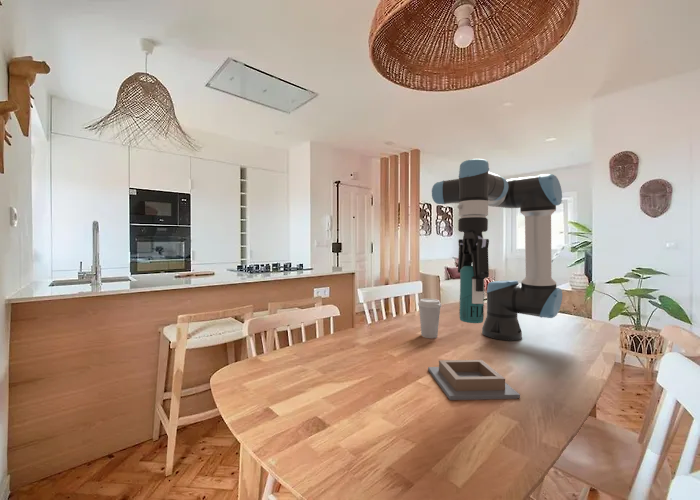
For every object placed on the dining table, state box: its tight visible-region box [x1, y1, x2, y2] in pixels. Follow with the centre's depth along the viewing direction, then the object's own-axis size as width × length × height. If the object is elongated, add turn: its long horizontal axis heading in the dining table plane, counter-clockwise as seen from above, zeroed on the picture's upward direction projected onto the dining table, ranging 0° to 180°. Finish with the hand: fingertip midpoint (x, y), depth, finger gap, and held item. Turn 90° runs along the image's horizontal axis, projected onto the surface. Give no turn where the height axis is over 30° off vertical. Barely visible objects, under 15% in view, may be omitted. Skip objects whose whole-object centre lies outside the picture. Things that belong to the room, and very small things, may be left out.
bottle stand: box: [427, 359, 521, 401], centre depth 87 cm, size 18×18×4 cm
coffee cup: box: [417, 298, 442, 339], centre depth 130 cm, size 10×10×15 cm
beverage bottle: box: [458, 254, 485, 324], centre depth 86 cm, size 6×7×20 cm
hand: (471, 300), depth 86 cm, fingers closed on beverage bottle, 6 cm apart
